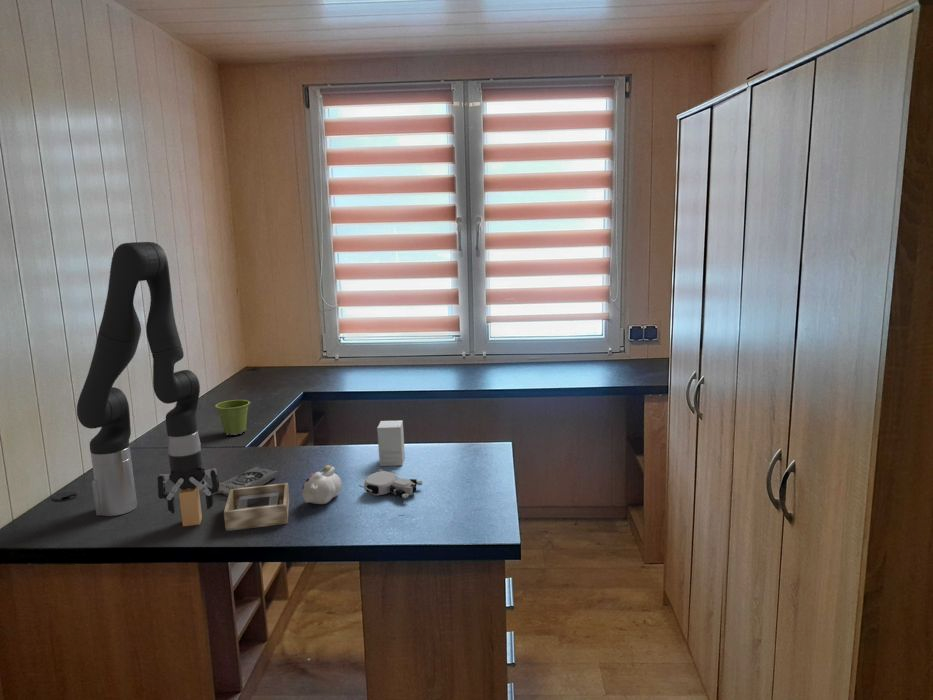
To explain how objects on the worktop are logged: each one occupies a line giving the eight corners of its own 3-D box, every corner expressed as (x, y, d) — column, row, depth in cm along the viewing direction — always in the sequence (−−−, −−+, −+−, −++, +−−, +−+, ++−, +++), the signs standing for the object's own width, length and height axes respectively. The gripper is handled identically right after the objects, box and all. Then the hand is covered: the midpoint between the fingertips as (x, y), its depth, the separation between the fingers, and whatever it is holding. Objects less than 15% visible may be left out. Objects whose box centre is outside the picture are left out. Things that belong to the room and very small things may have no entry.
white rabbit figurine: (332, 457, 189) (305, 470, 175) (354, 473, 188) (330, 488, 173) (316, 484, 191) (289, 499, 177) (339, 500, 190) (313, 517, 175)
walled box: (225, 531, 166) (223, 512, 165) (232, 506, 180) (230, 489, 179) (287, 523, 169) (286, 505, 168) (289, 500, 184) (288, 482, 183)
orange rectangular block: (182, 526, 169) (179, 493, 168) (185, 519, 173) (181, 487, 171) (199, 524, 170) (195, 491, 169) (201, 517, 174) (198, 485, 172)
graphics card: (245, 490, 184) (212, 482, 189) (245, 503, 184) (213, 495, 190) (286, 469, 199) (255, 463, 204) (286, 481, 199) (256, 475, 204)
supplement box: (405, 457, 214) (403, 419, 212) (402, 466, 207) (400, 427, 204) (382, 458, 214) (380, 420, 212) (378, 466, 207) (376, 427, 205)
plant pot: (259, 431, 245) (256, 401, 243) (232, 440, 235) (229, 410, 233) (237, 426, 251) (235, 397, 249) (211, 435, 241) (208, 405, 239)
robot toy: (424, 490, 190) (377, 481, 195) (425, 476, 189) (378, 466, 194) (406, 508, 179) (356, 497, 184) (406, 492, 178) (357, 482, 183)
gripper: (150, 457, 163) (158, 519, 166) (212, 451, 166) (219, 512, 169) (157, 448, 170) (164, 507, 173) (216, 442, 173) (222, 500, 176)
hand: (191, 510), depth 171 cm, fingers open, 8 cm apart
